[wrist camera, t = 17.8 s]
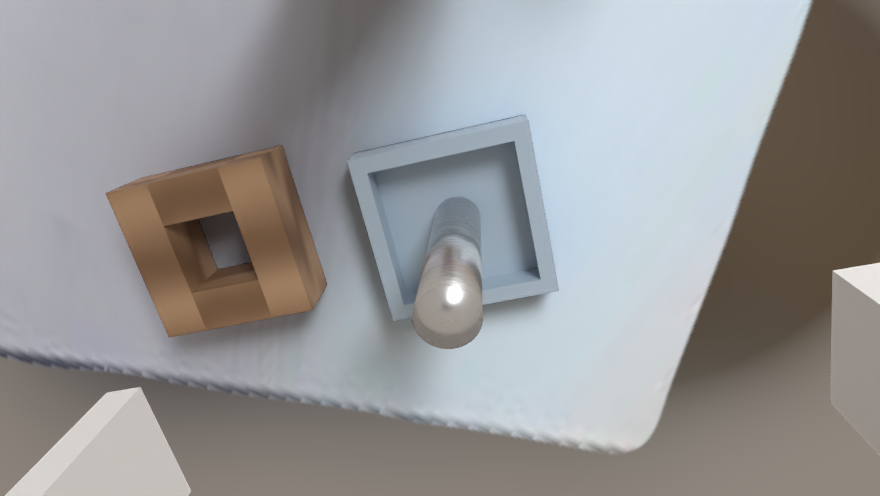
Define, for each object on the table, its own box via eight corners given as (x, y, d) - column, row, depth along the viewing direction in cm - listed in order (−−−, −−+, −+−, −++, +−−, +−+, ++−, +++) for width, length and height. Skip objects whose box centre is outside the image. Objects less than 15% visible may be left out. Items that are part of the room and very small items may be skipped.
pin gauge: (430, 201, 37) (404, 292, 24) (475, 192, 37) (474, 279, 24) (440, 244, 38) (421, 354, 25) (485, 235, 38) (489, 342, 25)
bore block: (141, 177, 38) (105, 193, 35) (281, 145, 37) (260, 157, 33) (196, 310, 42) (169, 337, 38) (327, 284, 40) (312, 310, 37)
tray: (355, 152, 37) (346, 160, 35) (525, 114, 36) (528, 120, 33) (398, 304, 41) (393, 321, 38) (554, 275, 39) (559, 290, 37)
